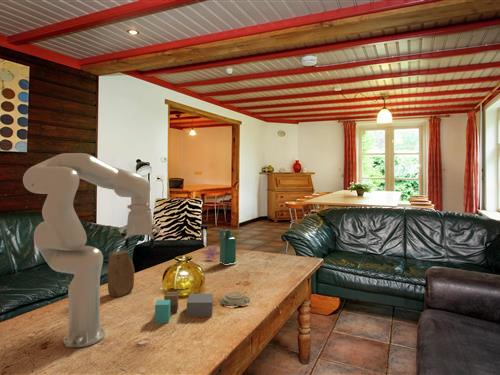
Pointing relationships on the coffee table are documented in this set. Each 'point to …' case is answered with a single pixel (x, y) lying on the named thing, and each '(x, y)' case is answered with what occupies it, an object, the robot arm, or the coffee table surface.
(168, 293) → the walnut block
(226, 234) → the green bottle
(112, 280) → the brown rounded oval lump
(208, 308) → the base block
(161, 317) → the teal block
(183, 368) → the coffee table surface
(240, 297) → the grey stepped disc
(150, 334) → the coffee table surface
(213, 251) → the lily
